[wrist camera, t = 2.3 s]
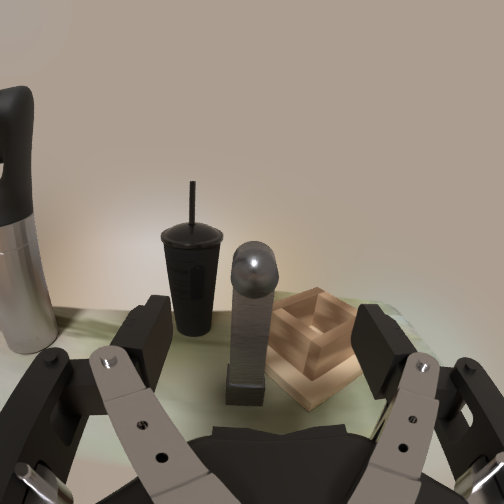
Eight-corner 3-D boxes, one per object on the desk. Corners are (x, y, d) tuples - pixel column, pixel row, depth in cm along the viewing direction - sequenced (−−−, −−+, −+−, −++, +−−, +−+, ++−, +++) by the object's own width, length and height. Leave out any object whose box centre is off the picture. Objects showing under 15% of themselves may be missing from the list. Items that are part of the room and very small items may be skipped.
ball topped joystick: (225, 404, 27) (230, 254, 21) (227, 382, 30) (232, 239, 24) (262, 406, 27) (282, 257, 21) (261, 383, 30) (278, 242, 24)
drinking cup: (230, 321, 42) (237, 181, 34) (202, 350, 35) (202, 189, 28) (187, 306, 44) (185, 175, 37) (156, 330, 38) (146, 183, 31)
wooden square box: (234, 343, 37) (236, 301, 35) (309, 313, 45) (316, 277, 42) (308, 411, 27) (322, 369, 24) (380, 359, 34) (395, 319, 32)
